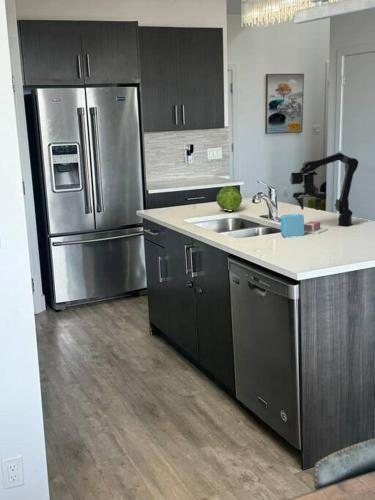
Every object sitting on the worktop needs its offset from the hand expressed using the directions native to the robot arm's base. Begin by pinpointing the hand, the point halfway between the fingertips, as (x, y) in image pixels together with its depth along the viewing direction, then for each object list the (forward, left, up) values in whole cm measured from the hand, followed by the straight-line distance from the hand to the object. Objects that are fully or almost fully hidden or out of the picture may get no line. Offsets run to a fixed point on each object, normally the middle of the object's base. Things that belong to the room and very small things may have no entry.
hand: (309, 209), depth 350 cm
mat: (-5, +7, -11) cm, 14 cm away
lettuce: (+86, -35, -11) cm, 94 cm away
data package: (-2, +23, -11) cm, 26 cm away
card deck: (-5, +7, -10) cm, 14 cm away
